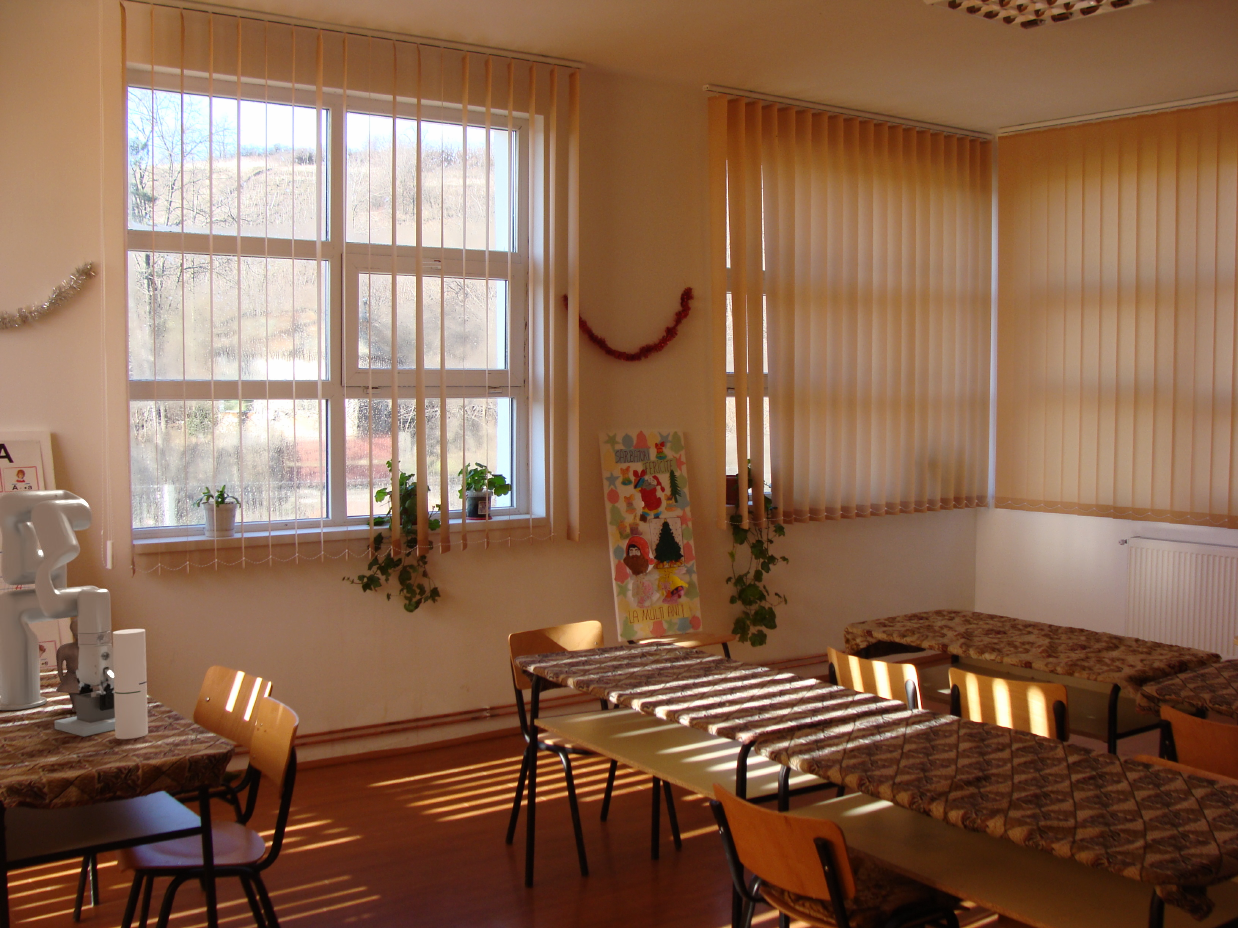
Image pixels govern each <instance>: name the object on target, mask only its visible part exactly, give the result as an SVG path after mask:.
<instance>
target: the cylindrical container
mask: <svg viewBox="0 0 1238 928" xmlns="http://www.w3.org/2000/svg"><path fill="white" fill-rule="evenodd" d="M146 645H147V644H146V629H144V628H130V629H120V630H116V631H113V632H112V647H113V663H114V701H115V730H114V732H115V733H114V735H115V739H119V740H131V739H138V738H141V737H145V736H147V735H149V725H148V723H149V722H148V721H149V720H148V687H147V685H148V684H147V679H148V678H147V650H146V649H147V648H146V647H147V646H146Z"/></svg>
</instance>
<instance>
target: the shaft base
mask: <svg viewBox="0 0 1238 928" xmlns="http://www.w3.org/2000/svg"><path fill="white" fill-rule="evenodd" d="M100 694H101V691H100V690H99V691H96V692H92V693H91V697H95V696H99V695H100ZM54 730H57V731H62V732H66V733H68V734H73V735H77V736H80V737H88V736H92V735H97V734H101V733H105V732H110V731H115V718H111V719H106V720H102V721H97V722H92V723H89V722H85V721H81V720H77V715H76V716H72V717H71V716H70V717H67V718H61V719H57V720H54Z"/></svg>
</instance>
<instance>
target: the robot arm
mask: <svg viewBox="0 0 1238 928" xmlns="http://www.w3.org/2000/svg"><path fill="white" fill-rule="evenodd" d="M92 523H93V512H92V508H91V506H90V505H89V504H88V502H87V501H86V500H85V499H83V498H82V497H80V496H78V495H76V494H74V493H73V492H71V491H68V490H66V489H43V490H41V489H39V490H38V489H37V490H36V489H33V490H32V489H30V490H16V491H11V492H7V493H5V494H4V493H3V494H2V495H1V496H0V531H1V562H0V563H1V578H2V581H3V582H4V583H5V585H10V586H27V585H34V587H33V588H31V587H28V588H22V589H21V588H20V589H13V590H8V591H4V592H2V593H1V594H0V711H15V710H16V711H17V710H19V711H20V710H24V709H25V710H26V709H31V708H36V707H37V708H38V707H40V706H43V705H44V704H45V705H46V703H47V701H48V700H47V699H48V698H47V697H45V696H41V676H40V675H41V672H40V670H41V669H40V664H41V663H40V640H39V637H38V635H37V633H35V631H34V630H33V629H32V628H31V627H30V626H29V625H31V624H35V623H43V622H49V621H55V620H61V619H62V620H63V619H69V618H76V617H77V618H78V646H79V656H78V669H77V670H76V675H77V678H78V679H77V682H78V684H79V686H78V689H79V695H81V694H86V693H91V692H93V688H91V686H92V685H94V686H99V689H100V690H99V691H101V694H100V710H101V711H104V710H109V709H113V708H114V696H113V693H114V663H113V638H112V610H111V606H112V604H111V603H112V602H111V593H110V591H109V590H108V589H106V588H99V587H97V586H95V585H82V586H71V587H67V579H68V578H67V577H68V576H67V575H68V572H67V571H68V567H67V564H68V563H70V562H72V561H73V560H74V559H76V558H77V557H78V556H79V554H80V552H81V547H80V544H79V540H78V539H77V536H76V533H75V531H85V530H87V529H89V528H90V527H91V525H92ZM38 543H39V545H40V546H39V547H40V548H39V547H38ZM105 685H106V687H105V688H104V686H105Z"/></svg>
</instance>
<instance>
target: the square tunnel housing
mask: <svg viewBox="0 0 1238 928" xmlns="http://www.w3.org/2000/svg"><path fill="white" fill-rule="evenodd" d="M91 693H92V692H91ZM91 693H86V694H81V695H76V712H75V713H76V716H77V720H81V721H85V722H89V723H92V722H97V721H102V720H106V719H111V718H115V701H114V708H113V709H109V710H104V711H101V710H100V695H99V696H95V697H91ZM113 696H114V693H113Z"/></svg>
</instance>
